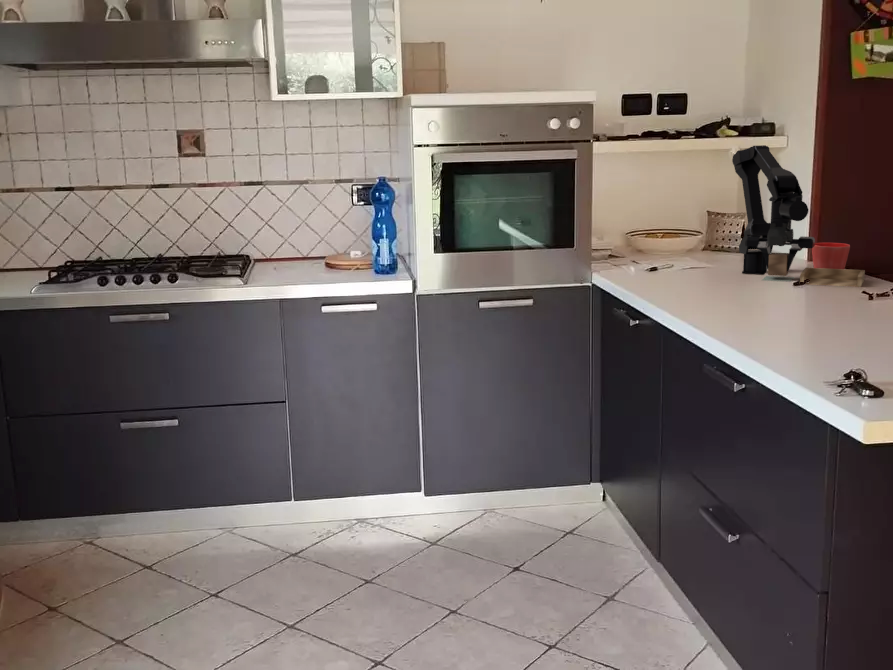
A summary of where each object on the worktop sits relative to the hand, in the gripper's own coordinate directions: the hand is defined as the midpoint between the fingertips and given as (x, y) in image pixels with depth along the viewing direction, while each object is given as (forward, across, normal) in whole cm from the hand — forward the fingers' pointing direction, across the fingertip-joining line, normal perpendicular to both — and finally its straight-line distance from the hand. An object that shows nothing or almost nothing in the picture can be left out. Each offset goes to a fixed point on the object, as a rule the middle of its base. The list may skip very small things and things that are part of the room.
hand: (778, 270), depth 267 cm
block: (+1, 0, 0) cm, 1 cm away
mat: (+3, 0, 0) cm, 3 cm away
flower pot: (+3, +13, +13) cm, 18 cm away
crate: (+3, +15, -1) cm, 15 cm away
